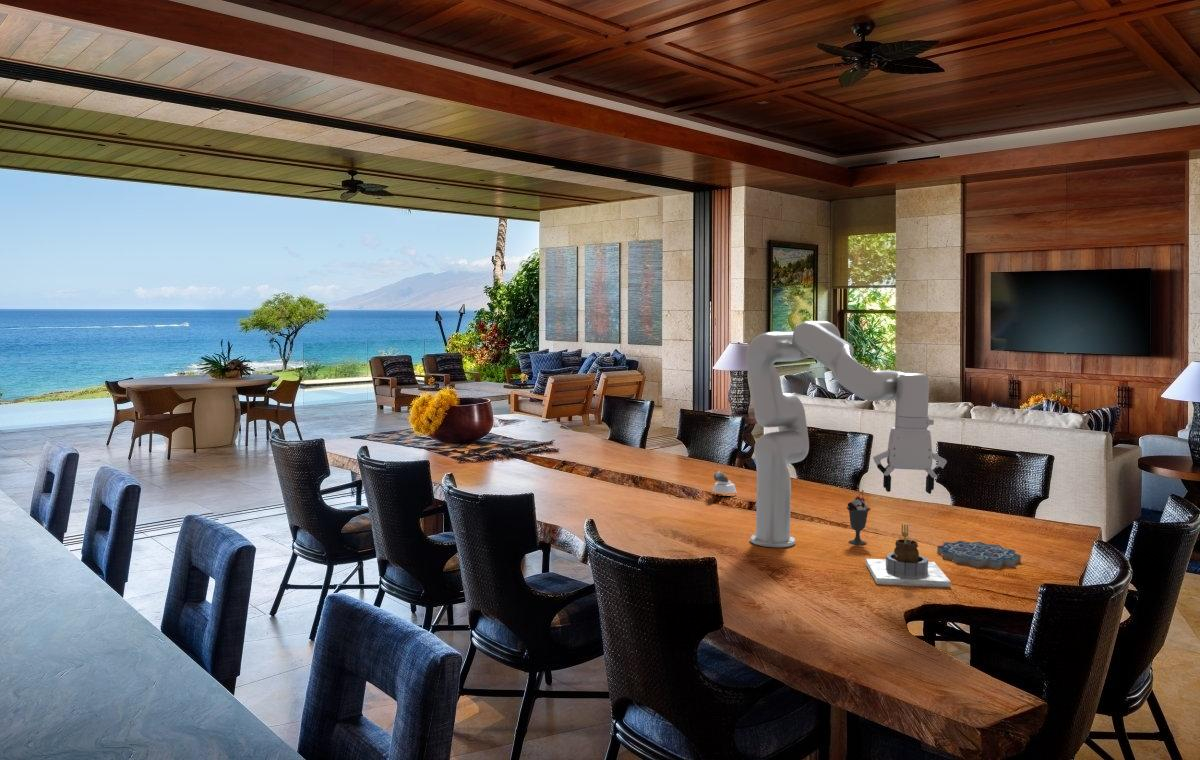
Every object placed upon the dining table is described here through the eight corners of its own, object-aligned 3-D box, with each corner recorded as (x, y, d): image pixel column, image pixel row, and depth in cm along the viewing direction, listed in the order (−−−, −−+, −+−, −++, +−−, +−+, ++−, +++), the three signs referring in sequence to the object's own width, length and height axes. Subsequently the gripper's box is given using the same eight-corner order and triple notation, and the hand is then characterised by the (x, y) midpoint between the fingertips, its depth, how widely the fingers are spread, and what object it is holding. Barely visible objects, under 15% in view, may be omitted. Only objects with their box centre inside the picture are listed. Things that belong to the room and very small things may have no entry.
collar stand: (865, 564, 222) (866, 547, 221) (934, 567, 219) (934, 550, 219) (876, 583, 205) (877, 565, 204) (950, 587, 202) (951, 569, 202)
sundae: (869, 540, 245) (870, 489, 244) (869, 546, 239) (871, 494, 238) (845, 539, 247) (846, 488, 246) (845, 544, 241) (847, 492, 240)
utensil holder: (920, 568, 213) (922, 521, 212) (915, 574, 208) (917, 526, 207) (895, 564, 216) (897, 518, 215) (890, 570, 211) (892, 523, 210)
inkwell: (739, 493, 313) (739, 466, 312) (730, 503, 296) (730, 474, 295) (714, 491, 316) (714, 464, 315) (704, 501, 299) (704, 472, 298)
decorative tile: (951, 545, 243) (951, 537, 243) (1027, 557, 230) (1027, 549, 230) (928, 560, 227) (928, 551, 227) (1008, 574, 215) (1008, 565, 214)
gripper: (944, 422, 212) (941, 490, 213) (872, 420, 214) (869, 487, 216) (951, 426, 204) (948, 496, 206) (877, 424, 207) (874, 493, 208)
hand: (908, 491), depth 211 cm, fingers open, 9 cm apart
